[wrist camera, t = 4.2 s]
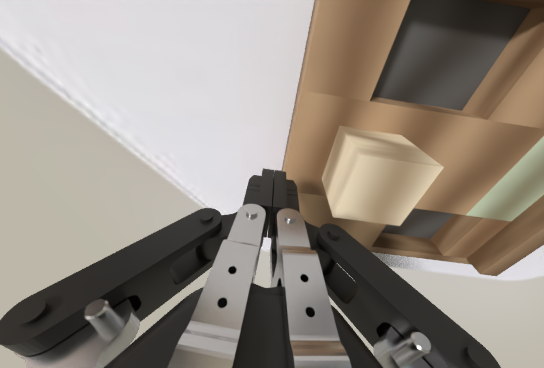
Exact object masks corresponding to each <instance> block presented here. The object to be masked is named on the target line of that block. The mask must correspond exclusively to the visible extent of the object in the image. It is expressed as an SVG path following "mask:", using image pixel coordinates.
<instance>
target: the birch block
mask: <svg viewBox="0 0 544 368" xmlns="http://www.w3.org/2000/svg"><path fill="white" fill-rule="evenodd" d="M443 168H444V167H443V166H442V165H440V164H439V163H438V162H436V161H435V160H434V159H432V158H431V157H430V156H428V155H427V154H426V153H425V152H423V151H422V150H421V149H419V148H418V147H417V146H415V145H414V144H413V143H411V142H410V141H409V140H407V139H406V138H405V137H403V136H402V135H398V134H391V133H384V132H378V131H371V130H365V129H358V128H351V127H345V126H339V129H338V132H337V135H336V138H335V141H334V144H333V146H332V149H331V152H330V155H329V158H328V161H327V164H326V167H325V170H324V173H323V176H322V182H323V185H324V189H325V192H326V195H327V199H328V202H329V206H330V209H331V212H332V216H333V217H335V218H343V219H351V220H358V221H366V222H373V223H381V224H389V225H396V226H400V225H401V224H402V223H403V221H404V220H405V219H406V217H407V216H408V215H409V213H410V212H411V211H412V209H413V208H414V207H415V205H416V204H417V203H418V201H419V200H420V199H421V197H422V196H423V195H424V193H425V192H426V191H427V189H428V188H429V187H430V185H431V184H432V183H433V181H434V180H435V179H436V177H437V176H438V175H439V173H440V172H441V171H442V170H443Z"/></svg>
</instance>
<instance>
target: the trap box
mask: <svg viewBox="0 0 544 368" xmlns="http://www.w3.org/2000/svg"><path fill="white" fill-rule="evenodd" d="M339 126H345V127H351V128H358V129H365V130H371V131H378V132H384V133H391V134H398V135H402V136H403V137H405V138H406V139H407V140H409V141H410V142H411V143H413V144H414V145H415V146H417V147H418V148H419V149H421V150H422V151H423V152H425V153H426V154H427V155H428V156H430V157H431V158H432V159H434V160H435V161H436V162H438V163H439V164H440V165H442V166H443V167H444V168H443V170H442V171H441V172H440V173H439V175H438V176H437V177H436V179H435V180H434V181H433V183H432V184H431V185H430V187H429V188H428V189H427V191H426V192H425V193H424V195H423V196H422V197H421V199H420V200H419V201H418V203H417V204H416V205H415V207H414V208H413V209H412V211H411V212H410V213H409V215H408V216H407V217H406V219H405V220H404V221H403V223H402V224H401V225H400V226H396V225H389V224H381V223H373V222H366V221H358V220H351V219H343V218H335V217H333V216H332V212H331V209H330V206H329V202H328V199H327V195H326V192H325V189H324V185H323V182H322V176H323V173H324V170H325V167H326V164H327V161H328V158H329V155H330V152H331V149H332V146H333V144H334V141H335V138H336V135H337V132H338V129H339ZM282 171H285V172H286V179H287V180H293V181H294V182H295V183H296V185H297V192H298V200H299V209H300V213H301V214H302V216H303V218H304V220H305V221H306V222H308V223H309V224H311V225H314V226H317V227H319V228H320V227H321V226H322V225H323V224H327V223H330V224H335V225H337V226H339V227H341V228H342V229H344V230H345V231H346V232H347V233H348V234H350V235H351V236H352V237H353V238H354V239H356V240H357V241H358V242H359V243H360V244H362V245H363V246H364V247H365V248H366V249H368V250H369V251H370V252H376V253H384V254H392V255H400V256H408V257H416V258H424V259H432V260H440V261H448V262H456V263H464V264H472V265H473V267H474V268H475V269H476V270H477V271H478V272H479V273H480V274H484V275H492V276H497V275H499V274H500V273H502V272H503V271H505V270H506V269H508V268H509V267H511V266H512V265H514V264H515V263H517V262H518V261H520V260H521V259H523V258H524V257H526V256H527V255H529V254H530V253H532V252H533V251H535V250H536V249H538V248H539V247H541V246H542V245H544V0H315V2H314V7H313V12H312V17H311V22H310V27H309V32H308V38H307V43H306V48H305V53H304V58H303V63H302V69H301V74H300V79H299V84H298V89H297V94H296V100H295V105H294V110H293V115H292V120H291V125H290V130H289V136H288V141H287V146H286V151H285V156H284V161H283V167H282ZM271 240H272V238H271Z"/></svg>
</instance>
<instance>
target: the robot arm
mask: <svg viewBox="0 0 544 368" xmlns="http://www.w3.org/2000/svg"><path fill="white" fill-rule="evenodd" d="M268 225H269V226H268ZM267 231H268V238H272V240H271V248H270V263H271V264H270V268H271V288H264V287H261V286H258V285H256V284H254V279H255V275H256V269H257V264H258V260H259V255H260V249H261V247H262V244H263V238H264V237H267ZM337 263H338V264H339V265H340V266H341V267H342V268H343V269H344V270H345V271H346V272H347V273H348V274H349V275H350V276H351V277H352V278H353V279H354V280H355V281H354V280H353V279H352V278H351V277H349V275H348V274H347V273H346V272H345V271H344V270H343V269H342V268H341V267H340V266H339V265H338V264H337ZM211 267H212V269H211V271H210V274H209V276H208V278H207V281H206V283H205V286H204V287H203V288H200V289H199V290H196V291H195V292H193V293H191V294H190V295H189V296H187V297H186V298H185V299H183V300H182V301H181V302H180V303H179V304H178V305H176V306H175V307H174V308H173V309H172V310H170V311H169V312H168V313H167V314H166V315H164V316H163V317H162V318H161V319H160V320H159V321H157V322H156V323H155V324H154V325H153V326H152V327H151V328H149V329H148V330H147V331H146V332H145V333H143V334H142V335H141V336H140V337H139V338H138V339H137V340H135V341H134V342H133V343H132V344H131V345H129V344H130V343H131V342H132V341H133V339H134V338H135V336H136V334H137V332H138V330H139V325H140V322H141V321H142V320H143V319H145V318H146V317H147V316H148V315H150V314H151V313H152V312H154V311H155V310H156V309H158V308H159V307H160V306H161V305H163V304H164V303H165V302H167V301H168V300H169V299H171V298H172V297H173V296H174V295H176V294H177V293H178V292H180V291H181V290H182V289H184V288H185V287H186V286H188V285H189V284H190V283H191V282H193V281H194V280H195V279H197V278H198V277H199V276H200V275H202V274H203V273H205V272H206V271H207V270H208V269H210V268H211ZM328 295H329V297H330V298H331V299H332V300H333V301H334V302H335V304H336V305H337V306H338V307H339V308H340V309H341V310H342V312H343V313H344V314H345V315H346V316H347V317H348V319H349V320H350V321H351V322H352V323H353V324H354V326H355V327H356V328H357V329H358V330H359V331H360V333H361V334H362V335H363V336H364V337H365V338H366V340H367V341H368V342H369V343H370V344H371V345H372V346H373V348H374V355H373V354H372V353H371V351H370V350H369V349H368V348H367V346H365V344H364V343H363V341H362V340H361V339H360V338H359V336H358V335H357V334H356V333H355V331H354V330H353V329H352V328H351V326H350V325H349V324H348V323H347V321H346V320H345V319H344V318H343V316H342V315H341V314H340V313H339V312H338V311H337V310H336V309H335V308H334V307H333V306H332V305H331V304H330V301H329V297H328ZM0 345H3V346H4V347H6V348H8V349H10V350H12V351H14V353H15V354H16V355H17V356H19V357H21V358H23V359H25V361H26V367H27V368H501V367H500V365H499V364H498V362H497V361H496V360H495V358H494V357H493V356H492V354H491V353H490V352H489V351H488V350H487V349H486V348H485V347H484V346H483V345H482V344H480V343H479V342H478V341H477V340H475V339H474V338H473V337H472V336H471V335H470V334H468V333H467V332H466V331H465V330H463V329H462V328H461V327H460V326H459V325H458V324H456V323H455V322H454V321H453V320H451V319H450V318H449V317H448V316H447V315H445V314H444V313H443V312H442V311H441V310H440V309H438V308H437V307H436V306H435V305H434V304H432V303H431V302H430V301H429V300H428V299H426V298H425V297H424V296H423V295H422V294H420V293H419V292H418V291H417V290H415V289H414V288H413V287H412V286H411V285H410V284H408V283H407V282H406V281H405V280H404V279H402V278H401V277H400V276H399V275H398V274H396V273H395V272H394V271H393V270H392V269H390V268H389V267H388V266H387V265H386V264H384V263H383V262H382V261H381V260H380V259H378V258H377V257H376V256H375V255H374V254H372V253H371V252H370V251H369V250H368V249H366V248H365V247H364V246H363V245H362V244H360V243H359V242H358V241H357V240H356V239H354V238H353V237H352V236H351V235H350V234H348V233H347V232H346V231H345V230H344V229H342V228H341V227H339V226H337V225H335V224H330V223H327V224H323V225H322V226H321V227H320V228H319V227H317V226H314V225H311V224H309V223H308V222H306V221H305V220H304V218H303V216H302V214H301V213H300V209H299V200H298V192H297V185H296V183H295V182H294V181H293V180H287V179H286V172H285V171H278V170H275V172H274V170H270V169H263V171H262V176H257V175H253V176H252V177H251V178H250V179H249V183H248V186H247V190H246V194H245V198H244V202H243V206H242V207H240V209H239V210H238V212H236V213H234V214H229V215H222V216H221V214H220V212H219V211H217V210H215V209H212V208H204V209H200V210H198V211H196V212H194V213H192V214H191V215H188V216H186V217H184V218H182V219H180V220H178V221H176V222H174V223H172V224H170V225H169V226H167V227H165V228H163V229H161V230H159V231H157V232H155V233H153V234H151V235H149V236H147V237H145V238H143V239H141V240H139V241H137V242H135V243H133V244H131V245H129V246H127V247H125V248H123V249H121V250H119V251H117V252H116V253H114V254H112V255H110V256H108V257H106V258H104V259H102V260H100V261H98V262H96V263H94V264H92V265H90V266H88V267H86V268H84V269H82V270H80V271H78V272H76V273H74V274H72V275H70V276H68V277H66V278H65V279H63V280H61V281H59V282H57V283H55V284H53V285H51V286H49V287H47V288H45V289H43V290H41V291H39V292H37V293H35V294H33V295H31V296H29V297H28V298H26V299H24V300H22V301H21V302H19V303H18V304H17V305H15V306H14V307H13V308H12V309H11V310H9V311H8V312H7V313H6V314H5V315H4V317H3V318H2V319H1V320H0ZM128 345H129V346H128ZM127 346H128V347H127ZM126 347H127V348H126ZM125 348H126V349H125ZM124 349H125V350H124Z"/></svg>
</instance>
